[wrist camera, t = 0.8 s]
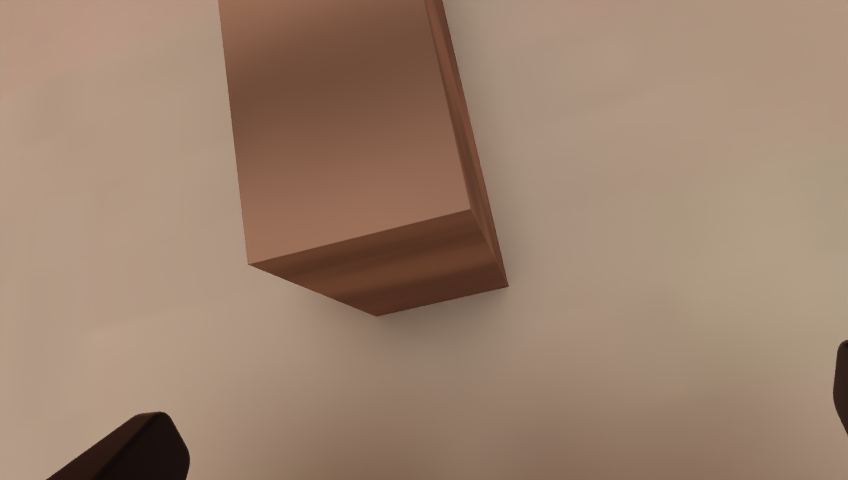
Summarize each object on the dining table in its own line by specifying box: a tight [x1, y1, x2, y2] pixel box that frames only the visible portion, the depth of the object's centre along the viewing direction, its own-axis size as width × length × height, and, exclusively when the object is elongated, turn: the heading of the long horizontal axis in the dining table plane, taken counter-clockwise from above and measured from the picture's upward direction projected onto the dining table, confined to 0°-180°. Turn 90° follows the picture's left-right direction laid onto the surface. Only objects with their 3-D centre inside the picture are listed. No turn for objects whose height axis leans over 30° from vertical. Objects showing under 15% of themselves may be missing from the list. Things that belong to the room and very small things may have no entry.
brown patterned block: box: [218, 0, 508, 316], centre depth 20 cm, size 18×5×10 cm, turn 11°
